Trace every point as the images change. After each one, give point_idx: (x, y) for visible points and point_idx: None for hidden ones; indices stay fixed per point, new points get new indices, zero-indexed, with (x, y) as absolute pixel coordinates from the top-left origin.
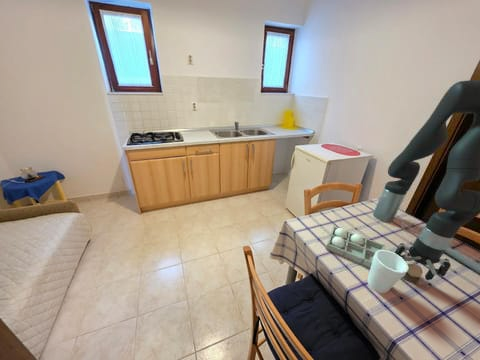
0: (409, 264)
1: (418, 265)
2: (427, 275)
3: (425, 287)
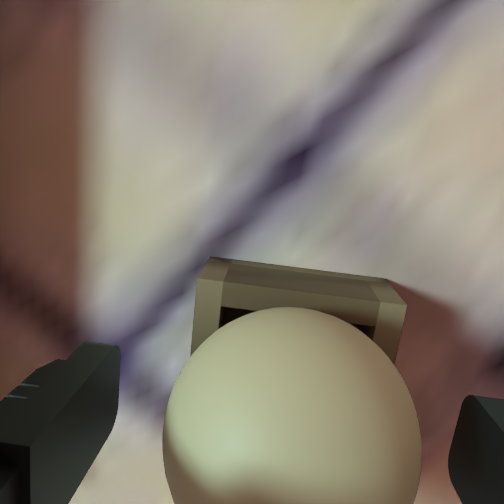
0: (179, 485)
1: (349, 494)
2: (487, 491)
3: (432, 434)
